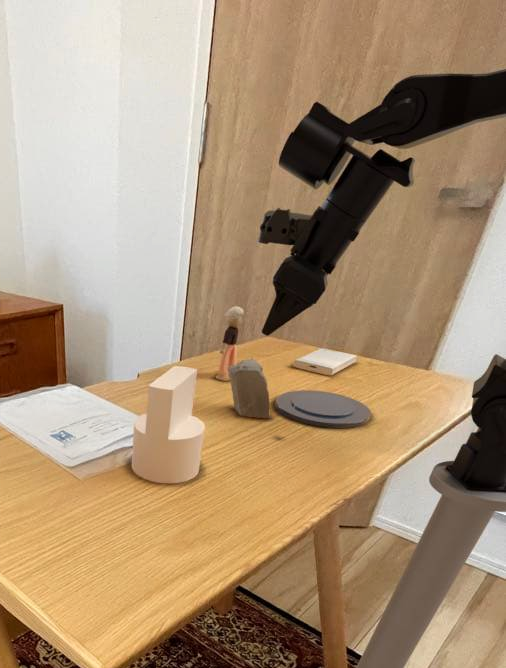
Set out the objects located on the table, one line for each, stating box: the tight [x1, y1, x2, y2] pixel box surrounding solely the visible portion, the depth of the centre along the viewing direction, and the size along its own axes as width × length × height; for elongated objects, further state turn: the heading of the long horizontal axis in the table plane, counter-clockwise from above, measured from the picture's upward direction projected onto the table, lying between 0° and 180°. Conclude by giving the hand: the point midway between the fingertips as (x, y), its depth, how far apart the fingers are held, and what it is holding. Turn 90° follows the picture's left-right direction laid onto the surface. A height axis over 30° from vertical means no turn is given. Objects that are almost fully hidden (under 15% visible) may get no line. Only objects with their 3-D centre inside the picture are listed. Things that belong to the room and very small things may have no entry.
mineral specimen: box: [227, 357, 271, 419], centre depth 80 cm, size 7×9×8 cm
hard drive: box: [292, 348, 358, 376], centre depth 103 cm, size 2×8×12 cm
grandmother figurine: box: [215, 305, 245, 382], centre depth 93 cm, size 8×4×13 cm, turn 162°
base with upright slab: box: [131, 365, 206, 484], centre depth 62 cm, size 9×9×12 cm
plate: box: [274, 389, 372, 429], centre depth 83 cm, size 15×15×1 cm
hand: (270, 324), depth 72 cm, fingers open, 9 cm apart
